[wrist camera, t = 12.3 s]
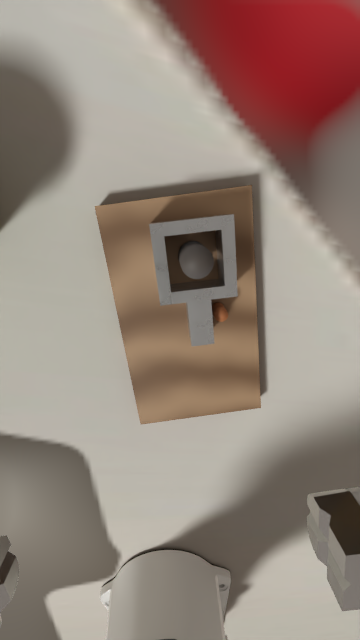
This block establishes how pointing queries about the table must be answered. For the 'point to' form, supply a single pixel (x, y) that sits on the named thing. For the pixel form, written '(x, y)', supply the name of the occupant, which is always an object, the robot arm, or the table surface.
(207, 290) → the grey square frame
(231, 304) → the board
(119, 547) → the table surface
